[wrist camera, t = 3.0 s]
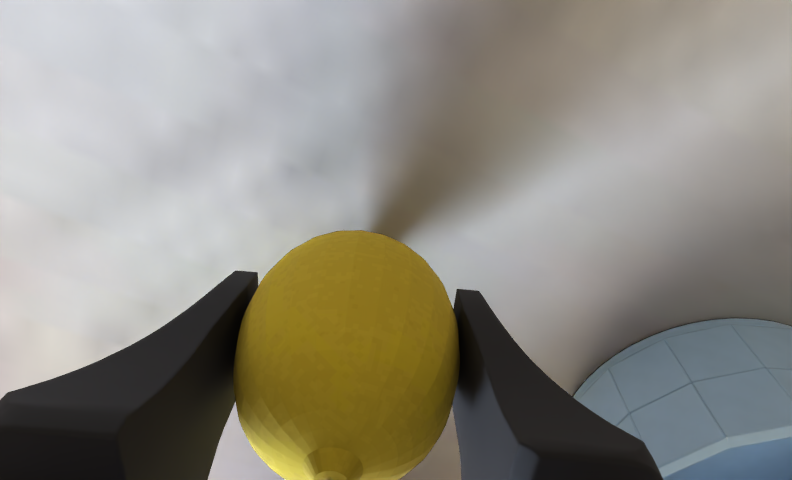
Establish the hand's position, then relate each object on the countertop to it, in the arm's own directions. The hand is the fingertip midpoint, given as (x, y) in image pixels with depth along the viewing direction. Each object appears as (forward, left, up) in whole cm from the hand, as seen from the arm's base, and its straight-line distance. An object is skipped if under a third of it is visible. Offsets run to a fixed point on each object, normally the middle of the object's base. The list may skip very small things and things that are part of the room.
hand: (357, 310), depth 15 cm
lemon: (0, 0, -3) cm, 3 cm away
